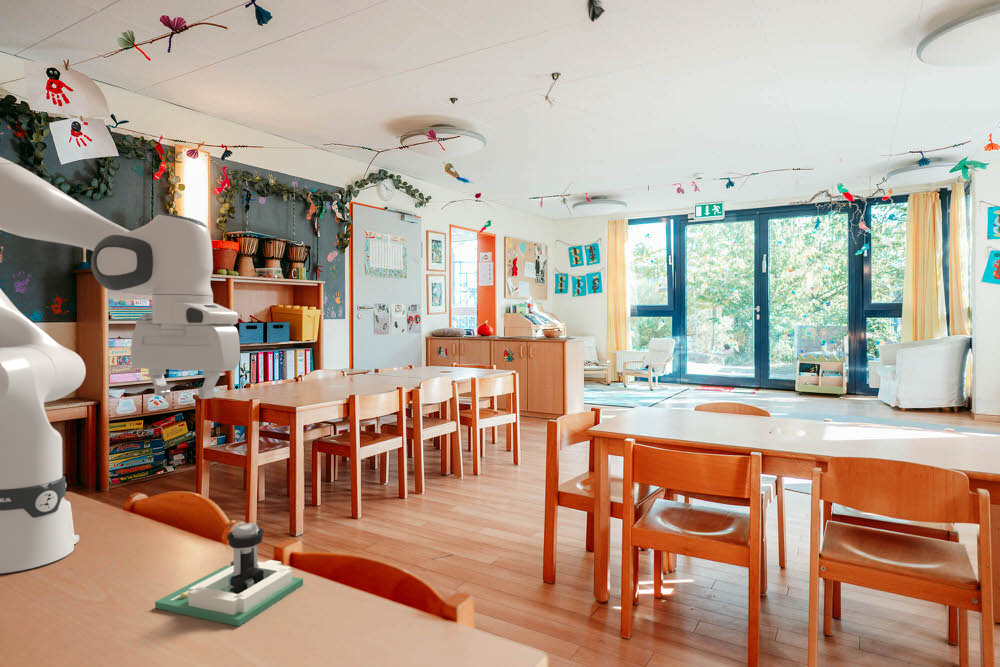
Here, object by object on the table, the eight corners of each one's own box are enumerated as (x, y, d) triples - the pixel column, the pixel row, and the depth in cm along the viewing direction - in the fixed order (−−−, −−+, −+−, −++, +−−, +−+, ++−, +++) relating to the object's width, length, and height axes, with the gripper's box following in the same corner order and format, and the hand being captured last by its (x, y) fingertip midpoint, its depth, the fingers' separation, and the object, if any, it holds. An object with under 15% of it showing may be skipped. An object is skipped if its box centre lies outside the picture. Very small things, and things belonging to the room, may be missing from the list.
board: (155, 608, 87) (155, 588, 87) (228, 569, 101) (228, 552, 101) (239, 626, 82) (239, 605, 82) (304, 583, 95) (304, 565, 95)
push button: (231, 604, 86) (230, 538, 86) (212, 594, 89) (211, 530, 89) (270, 587, 92) (270, 525, 92) (251, 579, 95) (251, 519, 95)
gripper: (119, 313, 95) (120, 396, 95) (215, 312, 89) (216, 402, 89) (153, 314, 101) (154, 392, 101) (246, 313, 95) (246, 397, 95)
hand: (183, 396), depth 95 cm, fingers open, 8 cm apart
